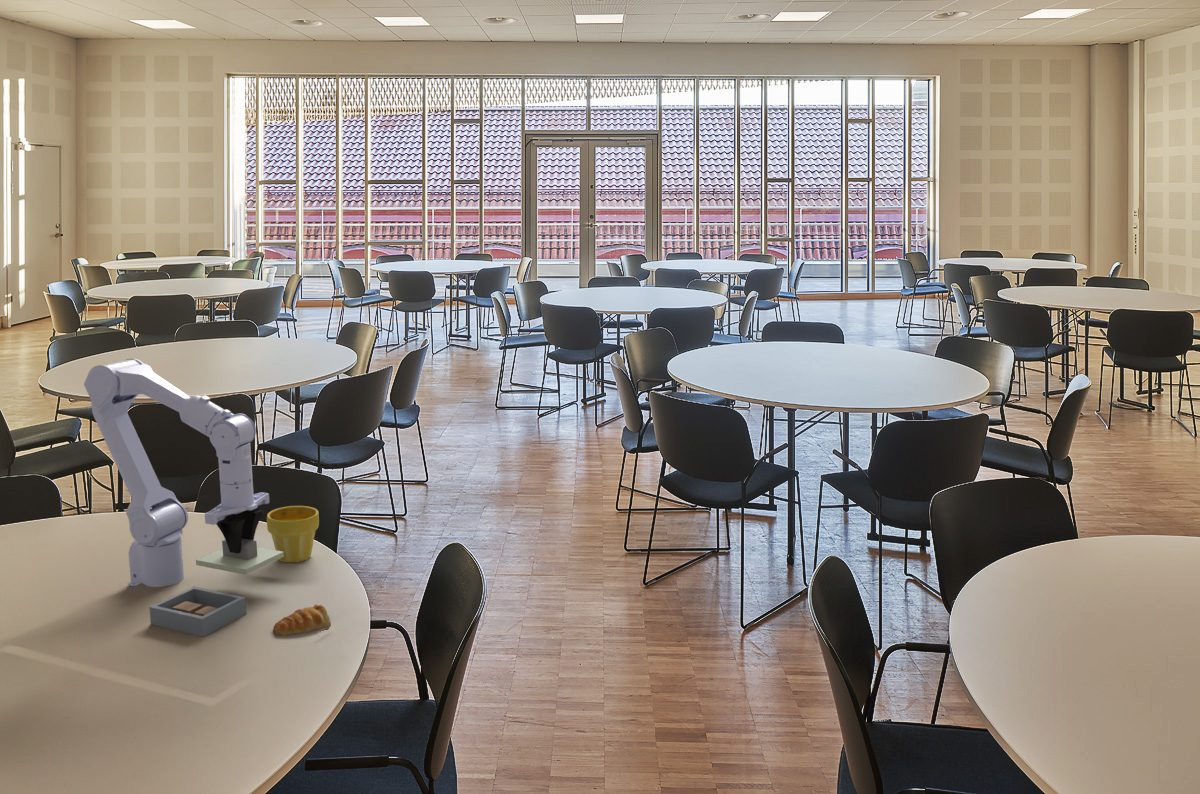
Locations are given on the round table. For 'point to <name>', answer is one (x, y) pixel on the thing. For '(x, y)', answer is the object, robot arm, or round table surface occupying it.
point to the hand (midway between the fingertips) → (241, 549)
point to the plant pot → (293, 531)
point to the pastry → (303, 621)
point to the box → (195, 624)
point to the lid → (240, 558)
